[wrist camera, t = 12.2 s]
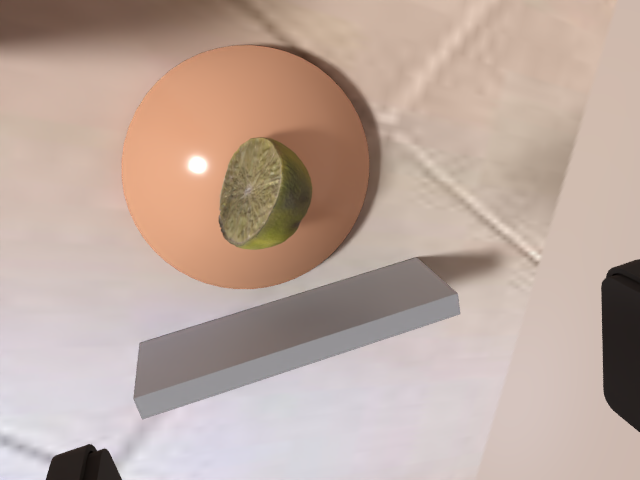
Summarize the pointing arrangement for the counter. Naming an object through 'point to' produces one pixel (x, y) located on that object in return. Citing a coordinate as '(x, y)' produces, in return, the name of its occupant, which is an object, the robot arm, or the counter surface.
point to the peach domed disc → (218, 148)
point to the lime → (263, 195)
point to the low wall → (288, 334)
